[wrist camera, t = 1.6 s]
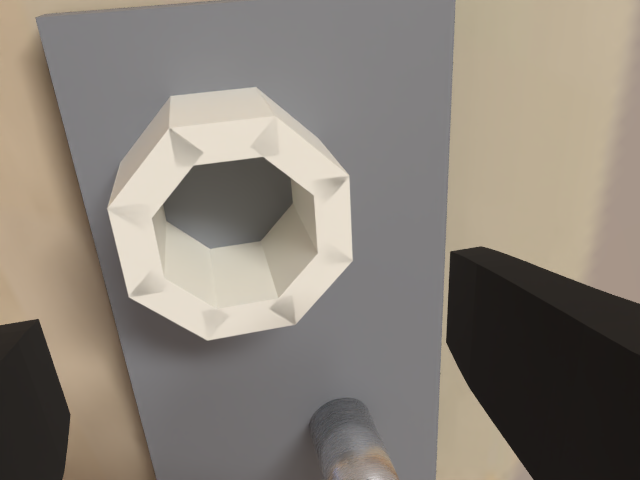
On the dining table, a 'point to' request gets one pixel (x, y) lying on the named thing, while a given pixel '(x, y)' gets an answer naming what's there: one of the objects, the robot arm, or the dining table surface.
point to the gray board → (268, 207)
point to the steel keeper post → (349, 442)
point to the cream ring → (237, 260)
